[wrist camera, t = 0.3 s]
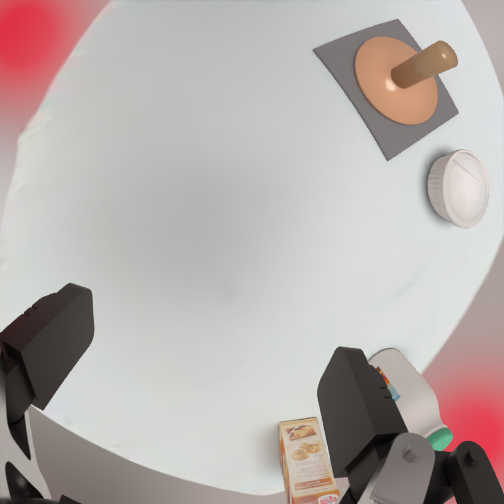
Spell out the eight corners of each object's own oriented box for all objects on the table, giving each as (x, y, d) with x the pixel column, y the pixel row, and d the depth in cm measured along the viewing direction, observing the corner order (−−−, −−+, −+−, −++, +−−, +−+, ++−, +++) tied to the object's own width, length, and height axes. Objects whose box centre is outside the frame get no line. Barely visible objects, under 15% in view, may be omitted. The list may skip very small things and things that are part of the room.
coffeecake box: (277, 421, 43) (293, 513, 24) (317, 415, 43) (345, 503, 25) (278, 462, 47) (290, 537, 28) (312, 458, 47) (330, 530, 28)
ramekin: (463, 149, 33) (485, 148, 28) (471, 216, 36) (492, 221, 31) (415, 153, 34) (436, 151, 28) (425, 228, 36) (446, 235, 31)
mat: (312, 50, 30) (313, 49, 29) (397, 19, 28) (398, 18, 27) (387, 160, 34) (388, 160, 33) (457, 113, 32) (458, 113, 31)
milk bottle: (381, 341, 40) (447, 424, 21) (409, 354, 41) (471, 426, 22) (353, 377, 42) (402, 467, 22) (383, 387, 43) (432, 465, 23)
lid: (357, 26, 28) (393, -15, 16) (434, 62, 29) (481, 40, 18) (348, 105, 31) (393, 77, 20) (431, 139, 33) (487, 132, 21)
